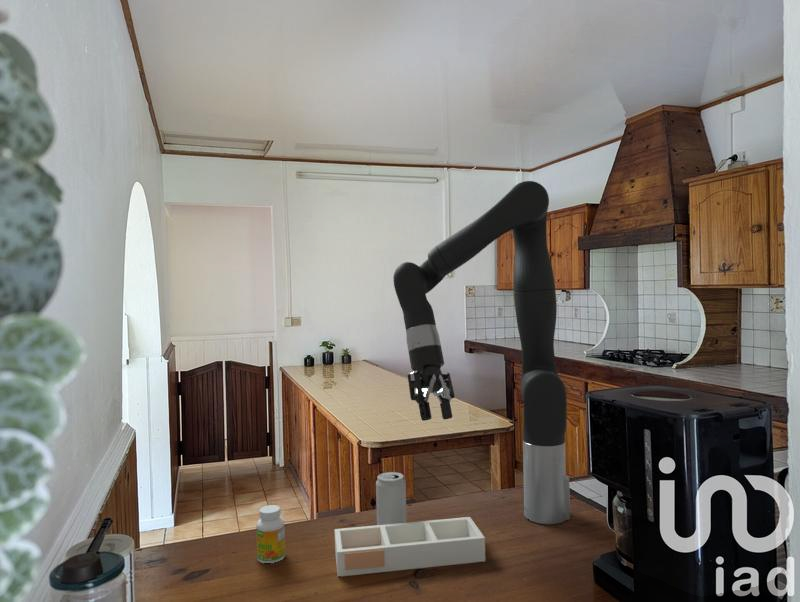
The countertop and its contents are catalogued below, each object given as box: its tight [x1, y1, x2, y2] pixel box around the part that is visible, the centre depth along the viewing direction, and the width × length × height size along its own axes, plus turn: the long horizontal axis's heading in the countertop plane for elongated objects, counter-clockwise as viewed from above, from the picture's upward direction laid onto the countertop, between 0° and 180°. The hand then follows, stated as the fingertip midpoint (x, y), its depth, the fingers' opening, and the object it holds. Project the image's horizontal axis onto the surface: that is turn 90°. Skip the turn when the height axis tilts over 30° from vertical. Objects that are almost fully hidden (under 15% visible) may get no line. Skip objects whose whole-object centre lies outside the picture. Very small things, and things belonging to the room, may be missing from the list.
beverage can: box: [375, 471, 408, 525], centre depth 120 cm, size 6×6×12 cm
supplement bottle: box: [255, 504, 286, 564], centre depth 109 cm, size 5×5×10 cm
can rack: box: [334, 516, 486, 577], centre depth 108 cm, size 28×10×4 cm, turn 99°
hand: (437, 419), depth 122 cm, fingers open, 8 cm apart
